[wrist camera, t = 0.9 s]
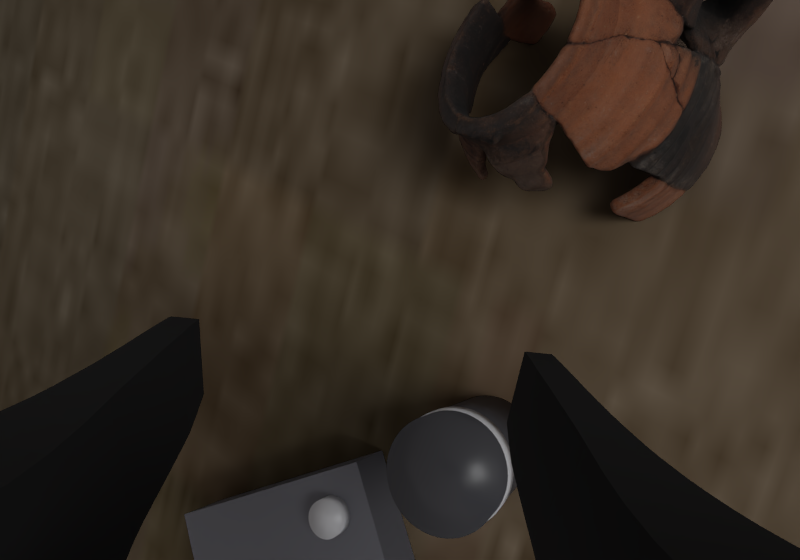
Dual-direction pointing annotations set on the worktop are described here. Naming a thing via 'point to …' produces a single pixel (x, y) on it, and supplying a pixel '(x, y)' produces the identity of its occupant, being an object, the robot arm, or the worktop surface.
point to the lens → (453, 467)
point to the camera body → (307, 518)
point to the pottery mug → (602, 91)
